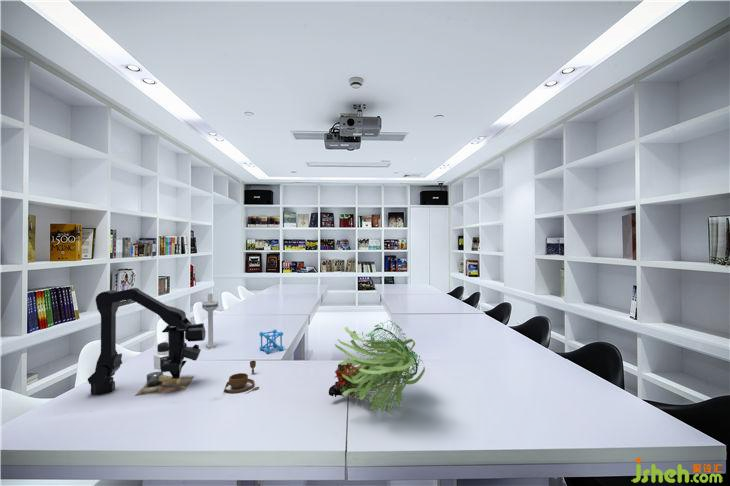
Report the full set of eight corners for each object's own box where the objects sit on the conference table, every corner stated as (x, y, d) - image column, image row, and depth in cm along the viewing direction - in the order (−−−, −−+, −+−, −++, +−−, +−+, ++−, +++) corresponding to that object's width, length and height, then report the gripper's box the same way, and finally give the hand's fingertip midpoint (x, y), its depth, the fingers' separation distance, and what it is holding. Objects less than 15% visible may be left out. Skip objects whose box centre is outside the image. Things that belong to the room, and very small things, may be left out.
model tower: (216, 344, 200) (215, 292, 200) (221, 347, 194) (220, 293, 194) (200, 347, 195) (200, 293, 195) (205, 350, 188) (204, 295, 188)
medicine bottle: (160, 372, 156) (160, 346, 156) (153, 369, 160) (153, 343, 160) (176, 368, 161) (176, 342, 161) (169, 365, 166) (169, 340, 166)
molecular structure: (276, 346, 194) (275, 328, 194) (284, 350, 186) (283, 331, 186) (258, 350, 187) (258, 331, 188) (266, 354, 180) (266, 335, 180)
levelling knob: (143, 384, 137) (143, 375, 137) (156, 379, 143) (156, 370, 143) (172, 390, 132) (172, 380, 132) (184, 384, 137) (184, 375, 137)
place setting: (211, 388, 138) (211, 374, 138) (252, 373, 155) (252, 359, 155) (239, 399, 128) (239, 383, 128) (280, 381, 145) (280, 366, 145)
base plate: (134, 399, 128) (134, 391, 128) (149, 384, 142) (149, 376, 143) (184, 394, 132) (184, 386, 132) (194, 379, 147) (194, 372, 147)
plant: (377, 354, 151) (449, 324, 126) (368, 444, 127) (455, 428, 102) (311, 321, 136) (378, 280, 112) (287, 415, 113) (366, 389, 88)
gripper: (193, 347, 131) (193, 388, 131) (203, 334, 149) (203, 370, 149) (160, 350, 128) (160, 392, 128) (174, 336, 146) (175, 373, 147)
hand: (177, 381), depth 138 cm, fingers closed
